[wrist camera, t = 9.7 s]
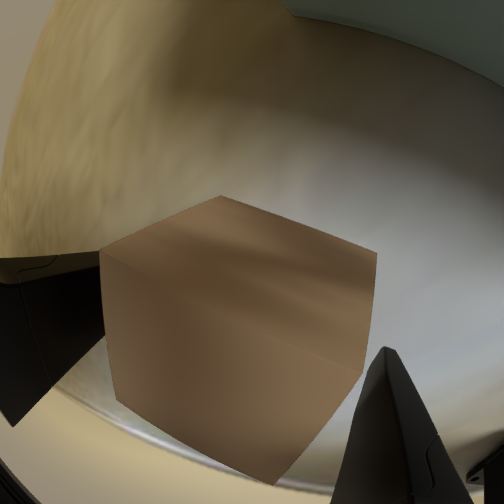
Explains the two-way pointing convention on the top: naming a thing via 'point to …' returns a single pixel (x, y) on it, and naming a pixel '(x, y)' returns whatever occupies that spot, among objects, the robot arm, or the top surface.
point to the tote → (425, 26)
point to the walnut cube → (236, 330)
